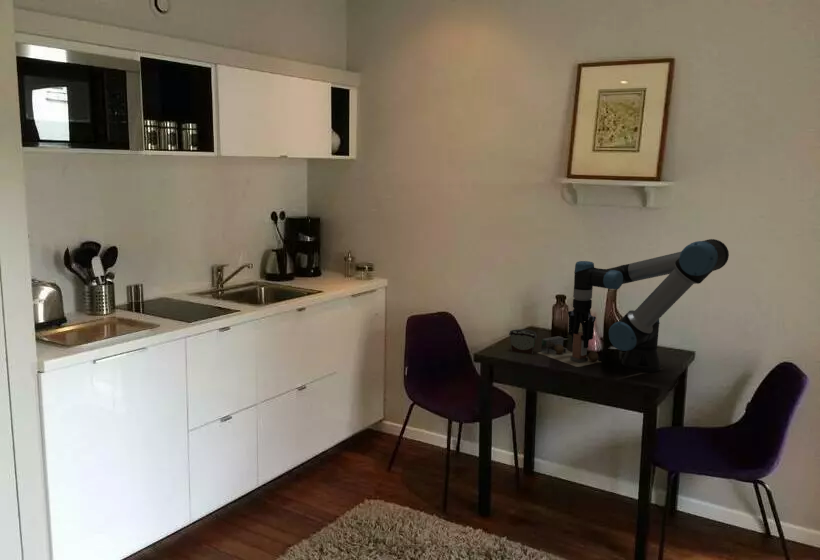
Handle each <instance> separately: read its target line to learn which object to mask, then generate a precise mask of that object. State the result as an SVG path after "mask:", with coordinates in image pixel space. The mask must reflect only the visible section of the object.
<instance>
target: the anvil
mask: <svg viewBox="0 0 820 560" xmlns="http://www.w3.org/2000/svg"><path fill="white" fill-rule="evenodd" d="M557 344H560V345H562V346H563V347H564V337H563V336H561V335H557V336H552V337H545V338H541V347H540V349H541V350H540V352H542V353H545V354H551V355H553V356H556V351H555V350H554V347H555V345H557ZM567 351H568V348H566V347H564V351H563V352H562V353H565V354H566V353H567Z"/></svg>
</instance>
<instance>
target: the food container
mask: <svg viewBox="0 0 820 560" xmlns="http://www.w3.org/2000/svg"><path fill="white" fill-rule="evenodd" d="M509 331H510V332H509V334H508V336H509V337H510V339H509V340H510V351H511V352H515V353H522V354H527V355H533V354H534V351H535V350H534V349H535V343H536V340H537V338H538V336H537V333H536V332H535V331H534V330H529V329H523V328H522V329H512V330H509Z"/></svg>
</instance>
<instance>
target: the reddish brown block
mask: <svg viewBox="0 0 820 560" xmlns="http://www.w3.org/2000/svg"><path fill="white" fill-rule="evenodd" d="M582 339H583V332H582V331H580V332H578V333H574V335H573V344H572V350H573V354H572V356H570V360H572V361H575V362H578V363H581V362H586V361H588V356H587V355H583V356H581V342H582Z"/></svg>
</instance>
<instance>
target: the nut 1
mask: <svg viewBox="0 0 820 560" xmlns="http://www.w3.org/2000/svg"><path fill="white" fill-rule="evenodd" d="M564 348H565V347H564V345H563V346H562V345H560V344H557V345H555V347H554V350H555V351H556V353H557V354H561V353H562V352H563V351H564Z"/></svg>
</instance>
